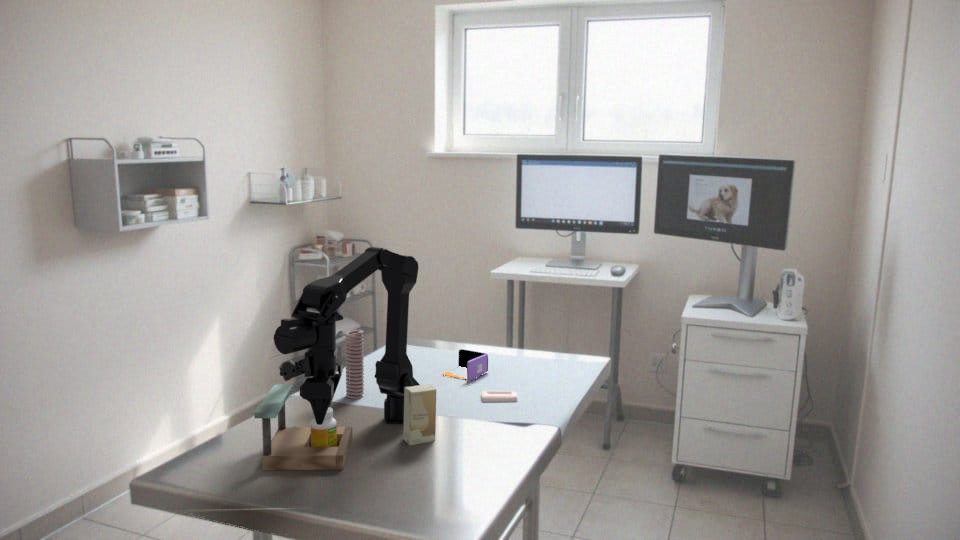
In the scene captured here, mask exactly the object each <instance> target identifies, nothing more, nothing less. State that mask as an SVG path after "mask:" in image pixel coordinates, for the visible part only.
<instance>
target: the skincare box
mask: <svg viewBox="0 0 960 540" xmlns="http://www.w3.org/2000/svg"><path fill="white" fill-rule="evenodd" d="M436 414H437V389H436V388H435V387H434V386H433V385H431V384H423V385H421V384H420V385H418V386H412V387H405V388H404V423H403V433H402V434H403V437H402V439H403V440H404V441H405V443H407V444H408V445H409V446H414V445H419V444H425V443H430V442H435V441H436V426H437V425H436V423H437V421H436V419H437V415H436Z"/></svg>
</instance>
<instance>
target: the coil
mask: <svg viewBox="0 0 960 540" xmlns="http://www.w3.org/2000/svg"><path fill="white" fill-rule="evenodd" d="M344 335H345V378H346V379H345V388H346V390H345V391H346V393H345V397H346V398H348V399H350V400H351V399H352V400H359V399H362V398H364V396H363V395H364V394H365V391H364V390H365V387H364V386H365V383H364V382H365V380H364V379H365V376H364V375H365V373H364V371H365V370H364V369H365V368H364V367H365V365H364V364H365V360H364V359H365V357H364V356H365V355H364V353H365V352H364V343H365V342H364V341H365V339H364V331H363V330H361V329H353V330H349V331H347V332H346V333H345V334H344Z"/></svg>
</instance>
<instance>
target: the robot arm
mask: <svg viewBox="0 0 960 540" xmlns="http://www.w3.org/2000/svg"><path fill="white" fill-rule="evenodd" d="M377 271H379V272H381V273H380V276H381V281H382V284H383V285H384V288H385V290H386V291H387V292H386V293H387V305H386V325H385V326H386V328H385V330H386V331H385V345H384V346H385V347H384V348H385V350H384V354H383V356H382V358H381V359H380V360H377V361H375V375H374V379H375V381H376V385H378V389H379V392H380V394H382V395H383V394H385V395H386V398H385V399H384V401H383V413H384V414H383V415H384V417H383V419H385V424H404V388H405V387H412V386H418V385H421V384H420V383H419V382H418V381H417V380H416V379H415V378H414V371H413V370H414V369H413V365H412V362H411V360H410V359H409V356H408V354H407V350H408V349H407V348H408V329H409V327H408V326H409V325H408V324H409V304H410V293H411V292H412V290H413V288H414V286H416V284H417V281H418V273H419V263H418V261H417V259H416V258H415V257H414V256H411V255H402V254H399V253H396V252H394V251H391V250H388V249H387V248H385V247H376V246H370V247H367V248H366V249H364V252H363V253H361V254H360V255H358V256H357V257H356V258H355V259H353V260H352V261H351V262H349V263H348V264H346V265H345V266H344V267H342V268H341V269H339V270H338V271H336V272H335V273H334V274H332V275H330V276H327V277H321V278H319V279H315V280H314V281H312V282H309V283H308V284H306V285H305V286H304V287H303V288H302V293H301V295H300V297H299V299H298V301H297V303H296V306H295V307H294V309H293V311H292V314H291V318H281V319H280V325H279V326H277V328H276V330H274V331H275V332H274V334H273V343H274V345H275V348H276V349H277V351H278V352H279V353H281V354H282V355H289V354H292V353H297V352H300V351H304V350H306V351H305V352H304V354H301V355H299V356H298V355H297V356H296V357H292V358H289V359H287V360H285V361H283V362H281V364H280V365H279V367H278V368H279V376H281V377H282V378H283V380H284V381H285V382H287V381H291V379H293V378H296V377H298V376H302V375H304V377H305V379H304V380H303V381H302V382H301V384H300V386H299V397H301V398H302V399H303V400H306V401H308V402H309V404H310V406H311V409H312V413H313V417H315V418H314V419H315V420H316V423H317V425H322V424H323V421H324V418H325V415H326V413H327V410H328V407H330V408H331V404H332V401H333V399H334V396H335V393H336V391H337V388H338V386H339V383H340V380H341V378H342V375H343V374H342V373H343V370H344V369H343V368H344V367H343V366H344V365H343V364H344V363H343V361H342V360H341V359H340V358H337V353H338V348H339V347H338V345H337V324H336V323H337V322H340V321H343V320H344V316H343V315H342V314H340V313H339V312H338V310H339V309H340V307H341V306H342V305H343V304H344V303H345V302H346V299H347V296H348V294H349V293H350V292H351V291H352V290H353V289H354V288H356V287H357V286H358V285H360V284H361V283H362V282H363V281H364V282H365V280H366V279H368V277H371V275H372V274H374V273H375V272H377ZM337 372H338V373H337Z"/></svg>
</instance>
